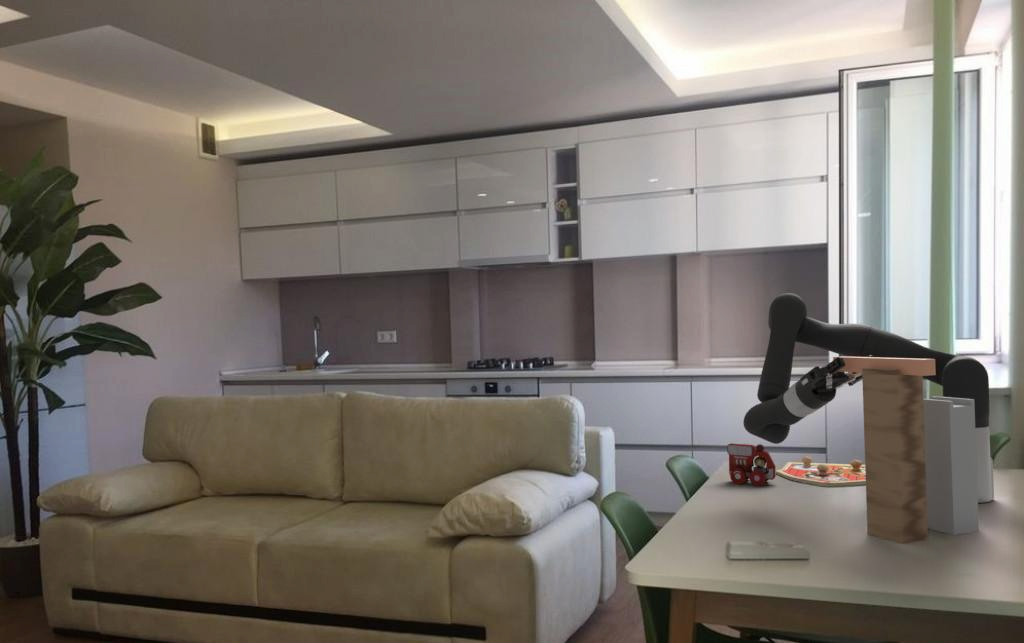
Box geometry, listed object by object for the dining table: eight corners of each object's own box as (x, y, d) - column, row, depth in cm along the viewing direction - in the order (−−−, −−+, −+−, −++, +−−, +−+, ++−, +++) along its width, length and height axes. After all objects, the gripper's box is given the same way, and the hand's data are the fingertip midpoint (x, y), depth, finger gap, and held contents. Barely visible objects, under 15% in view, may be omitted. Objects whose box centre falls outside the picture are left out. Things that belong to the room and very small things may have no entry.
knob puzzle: (888, 471, 219) (888, 455, 219) (893, 492, 192) (892, 474, 192) (780, 466, 231) (780, 451, 231) (770, 486, 204) (769, 469, 204)
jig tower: (893, 529, 157) (887, 366, 157) (927, 538, 149) (922, 368, 150) (867, 533, 154) (862, 368, 154) (901, 543, 147) (895, 370, 147)
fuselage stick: (844, 370, 165) (843, 356, 165) (935, 375, 145) (935, 359, 145) (833, 371, 164) (833, 356, 164) (924, 375, 144) (923, 359, 144)
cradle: (938, 520, 162) (934, 396, 163) (978, 530, 154) (974, 399, 154) (914, 524, 160) (910, 398, 160) (953, 535, 151) (949, 401, 152)
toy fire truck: (771, 487, 200) (770, 447, 200) (724, 483, 207) (723, 444, 207) (778, 482, 206) (777, 443, 206) (732, 478, 213) (730, 440, 213)
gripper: (777, 381, 172) (824, 345, 159) (826, 378, 177) (875, 342, 164) (790, 412, 168) (839, 377, 155) (840, 407, 174) (891, 374, 161)
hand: (857, 359), depth 160 cm, fingers open, 8 cm apart
